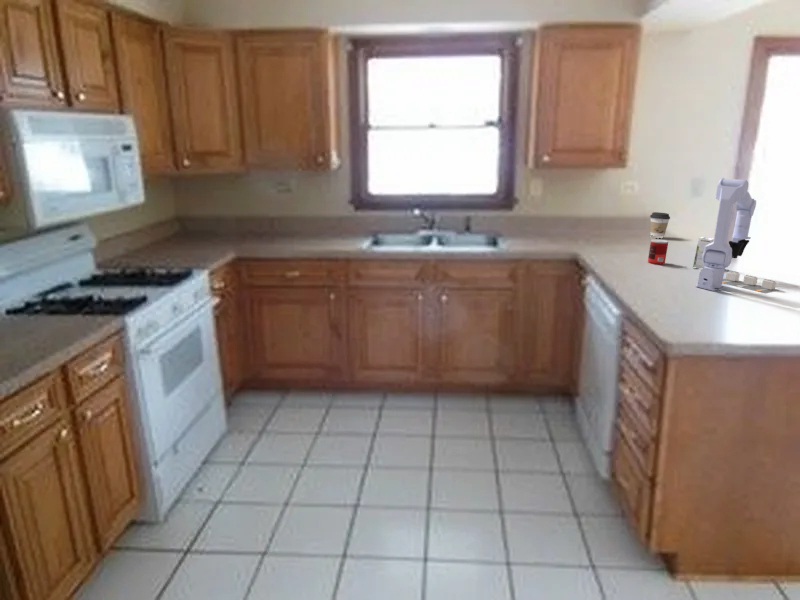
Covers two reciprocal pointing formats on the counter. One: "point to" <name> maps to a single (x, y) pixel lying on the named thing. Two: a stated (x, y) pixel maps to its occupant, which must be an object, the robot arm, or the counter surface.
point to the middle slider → (750, 280)
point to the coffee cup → (659, 223)
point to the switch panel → (748, 286)
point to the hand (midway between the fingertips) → (736, 256)
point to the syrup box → (701, 251)
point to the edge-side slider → (768, 284)
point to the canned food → (657, 251)
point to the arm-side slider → (732, 276)
